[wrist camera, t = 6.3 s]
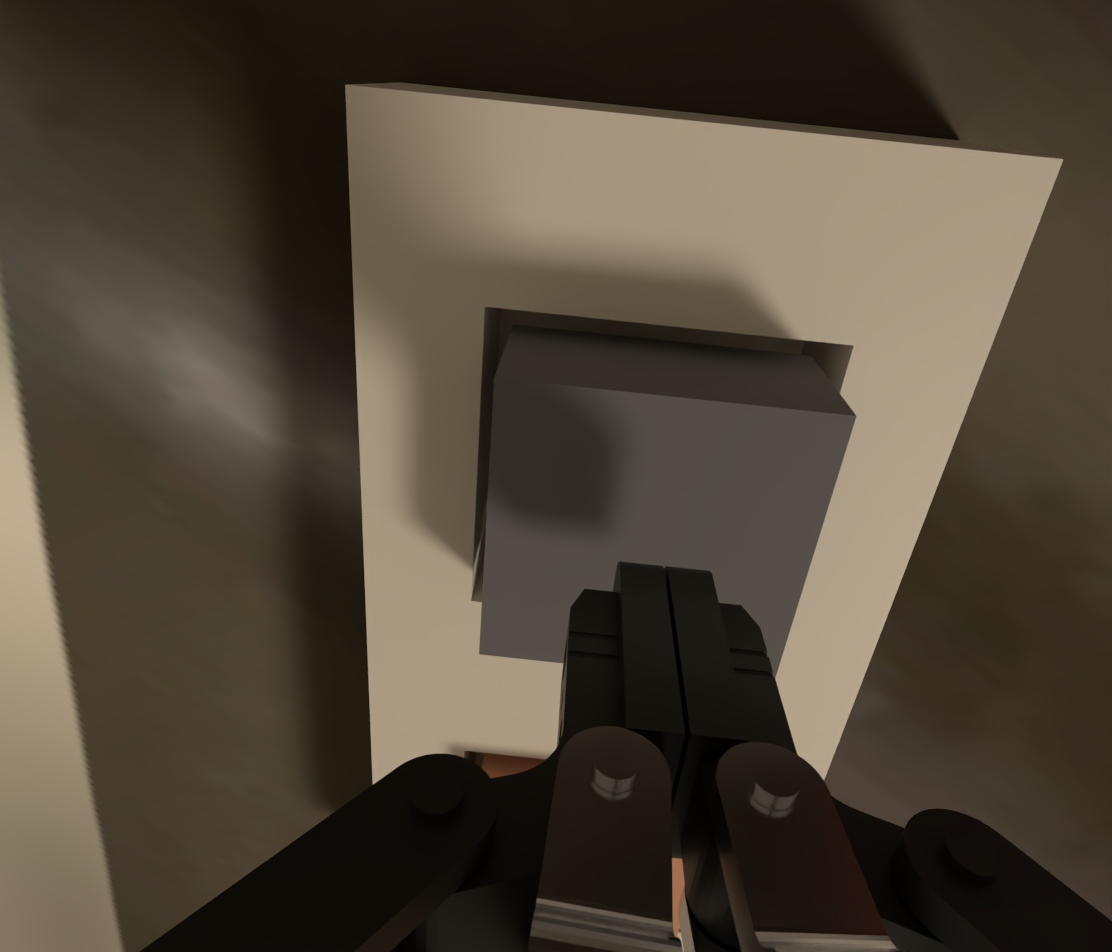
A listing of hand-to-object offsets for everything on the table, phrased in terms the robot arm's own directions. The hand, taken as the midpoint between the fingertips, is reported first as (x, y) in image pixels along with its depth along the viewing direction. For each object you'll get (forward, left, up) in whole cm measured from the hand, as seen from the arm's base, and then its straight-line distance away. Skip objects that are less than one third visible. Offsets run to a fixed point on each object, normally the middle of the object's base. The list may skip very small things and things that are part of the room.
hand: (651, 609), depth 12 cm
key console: (+6, 0, -8) cm, 10 cm away
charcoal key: (0, 0, -5) cm, 5 cm away
